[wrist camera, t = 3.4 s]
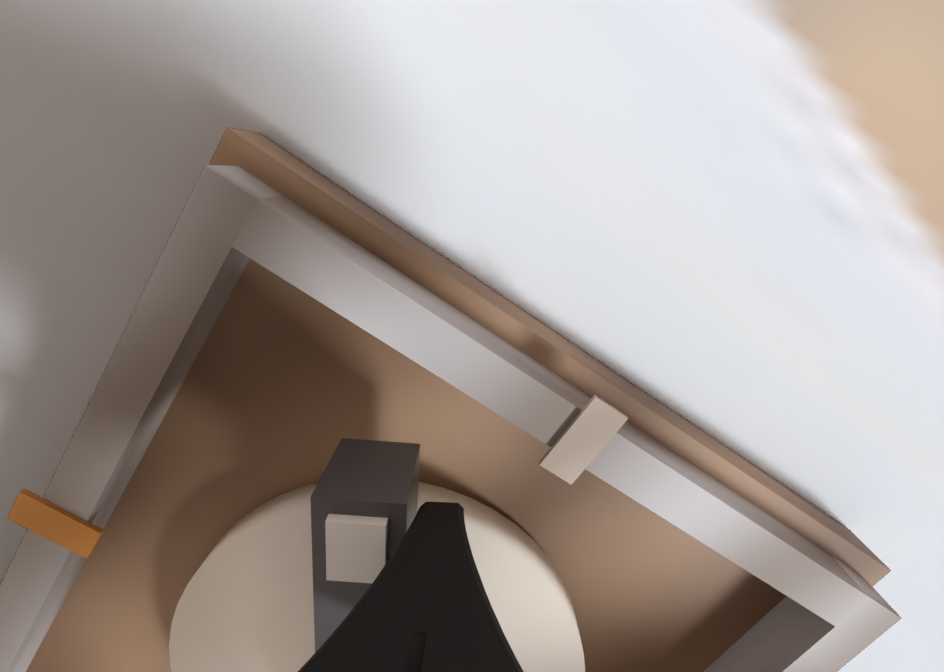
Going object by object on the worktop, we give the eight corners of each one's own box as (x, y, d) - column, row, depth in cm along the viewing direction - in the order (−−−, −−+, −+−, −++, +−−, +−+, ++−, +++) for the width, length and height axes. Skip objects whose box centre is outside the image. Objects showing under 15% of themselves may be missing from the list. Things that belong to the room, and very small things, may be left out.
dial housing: (849, 530, 14) (939, 618, 11) (476, 871, 19) (475, 992, 16) (259, 132, 11) (186, 120, 9) (-4, 649, 16) (-106, 749, 13)
